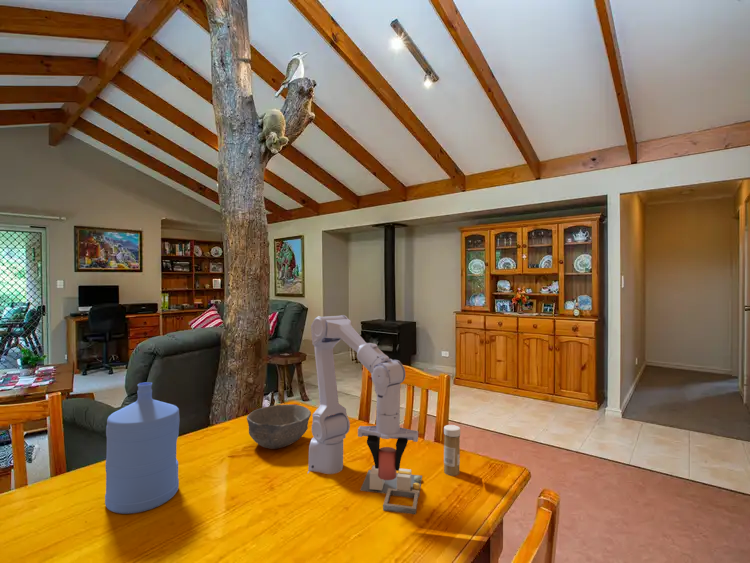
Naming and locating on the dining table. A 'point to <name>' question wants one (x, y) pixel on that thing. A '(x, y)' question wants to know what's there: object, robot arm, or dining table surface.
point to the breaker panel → (392, 484)
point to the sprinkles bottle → (451, 450)
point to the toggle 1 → (375, 480)
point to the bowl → (278, 425)
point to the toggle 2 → (404, 479)
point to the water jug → (141, 454)
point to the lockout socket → (400, 507)
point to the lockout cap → (387, 463)
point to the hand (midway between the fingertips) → (387, 467)
